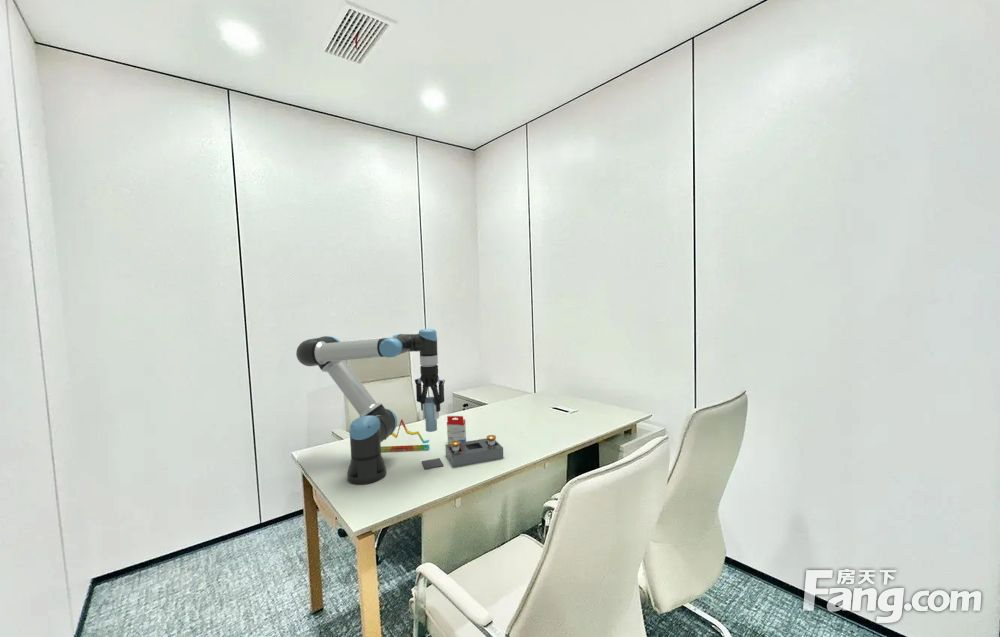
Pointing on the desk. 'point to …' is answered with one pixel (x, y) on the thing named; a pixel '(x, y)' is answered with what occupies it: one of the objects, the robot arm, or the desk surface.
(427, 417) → the cylinder
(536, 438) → the desk surface
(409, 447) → the chart
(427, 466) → the pad
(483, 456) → the housing
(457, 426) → the ink box
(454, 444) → the plunger near
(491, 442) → the plunger far
